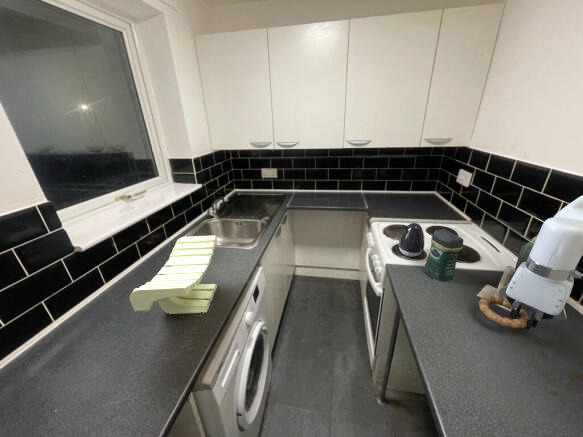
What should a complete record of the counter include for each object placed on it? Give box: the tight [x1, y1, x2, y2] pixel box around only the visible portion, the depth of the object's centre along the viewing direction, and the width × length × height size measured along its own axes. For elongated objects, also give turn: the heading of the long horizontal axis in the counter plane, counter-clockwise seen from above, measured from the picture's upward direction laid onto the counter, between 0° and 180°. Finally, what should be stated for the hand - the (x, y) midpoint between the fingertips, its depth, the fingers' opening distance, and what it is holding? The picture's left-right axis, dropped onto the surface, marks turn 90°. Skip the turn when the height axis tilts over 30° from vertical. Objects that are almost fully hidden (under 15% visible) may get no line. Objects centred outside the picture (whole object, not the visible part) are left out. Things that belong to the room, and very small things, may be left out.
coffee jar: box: [423, 228, 464, 282], centre depth 86 cm, size 10×8×19 cm
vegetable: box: [513, 234, 538, 275], centre depth 81 cm, size 4×4×20 cm
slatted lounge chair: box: [129, 234, 218, 315], centre depth 80 cm, size 30×16×18 cm, turn 1°
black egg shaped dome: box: [397, 222, 425, 258], centre depth 101 cm, size 10×10×15 cm
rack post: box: [476, 265, 515, 313], centre depth 74 cm, size 9×9×13 cm
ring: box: [477, 296, 531, 330], centre depth 66 cm, size 11×11×2 cm
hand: (521, 322), depth 63 cm, fingers closed on ring, 2 cm apart
